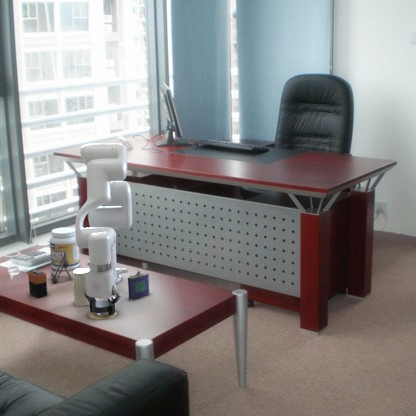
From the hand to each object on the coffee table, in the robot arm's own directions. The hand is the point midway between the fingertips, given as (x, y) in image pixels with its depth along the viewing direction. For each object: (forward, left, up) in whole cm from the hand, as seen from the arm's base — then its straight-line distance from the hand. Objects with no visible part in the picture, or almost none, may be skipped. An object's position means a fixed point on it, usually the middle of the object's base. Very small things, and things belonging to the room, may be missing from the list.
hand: (102, 312), depth 246 cm
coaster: (0, 0, -1) cm, 1 cm away
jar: (+1, -15, -1) cm, 15 cm away
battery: (+11, -34, -1) cm, 36 cm away
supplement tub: (-11, -61, -1) cm, 62 cm away
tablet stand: (-3, -46, -1) cm, 46 cm away
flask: (-19, -8, -1) cm, 21 cm away
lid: (0, 0, +3) cm, 3 cm away
